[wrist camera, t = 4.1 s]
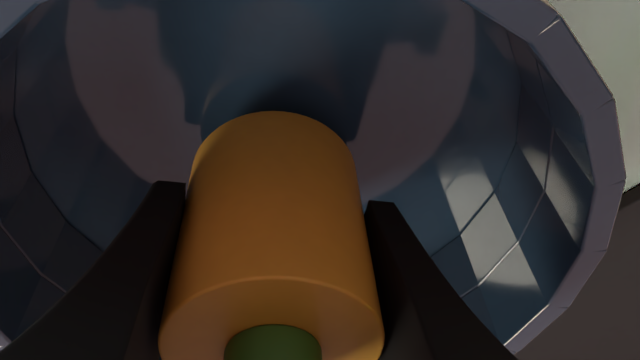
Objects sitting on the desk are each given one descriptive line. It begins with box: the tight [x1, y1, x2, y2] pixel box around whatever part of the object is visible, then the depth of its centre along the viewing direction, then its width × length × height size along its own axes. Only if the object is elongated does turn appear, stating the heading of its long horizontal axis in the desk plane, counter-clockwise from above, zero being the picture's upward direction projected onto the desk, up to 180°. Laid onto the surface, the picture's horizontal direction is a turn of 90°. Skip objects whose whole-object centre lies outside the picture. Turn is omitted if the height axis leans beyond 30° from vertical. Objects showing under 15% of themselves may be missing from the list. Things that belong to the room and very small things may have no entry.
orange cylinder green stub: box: [158, 111, 385, 360], centre depth 11 cm, size 4×4×6 cm
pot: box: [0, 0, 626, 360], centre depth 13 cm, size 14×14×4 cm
